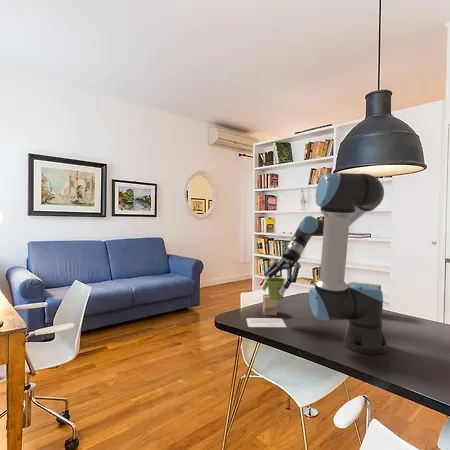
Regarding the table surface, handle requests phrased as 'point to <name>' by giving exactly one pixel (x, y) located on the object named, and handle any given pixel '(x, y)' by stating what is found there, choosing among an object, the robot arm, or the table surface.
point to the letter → (265, 322)
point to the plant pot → (275, 288)
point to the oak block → (269, 305)
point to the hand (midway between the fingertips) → (271, 291)
